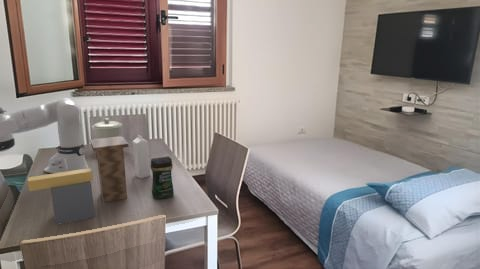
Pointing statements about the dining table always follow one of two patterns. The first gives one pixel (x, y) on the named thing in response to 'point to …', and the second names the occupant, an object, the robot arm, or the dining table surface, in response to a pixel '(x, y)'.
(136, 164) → the milk
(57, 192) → the podium
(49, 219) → the dining table surface
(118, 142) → the walnut stand
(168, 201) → the dining table surface
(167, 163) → the coffee jar
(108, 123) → the canister
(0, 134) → the robot arm
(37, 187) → the yellow bar
